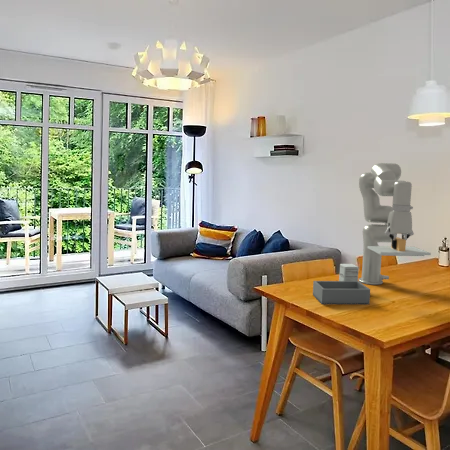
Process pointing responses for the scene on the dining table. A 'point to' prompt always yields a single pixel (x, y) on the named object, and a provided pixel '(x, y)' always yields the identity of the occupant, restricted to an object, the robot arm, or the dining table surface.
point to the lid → (398, 249)
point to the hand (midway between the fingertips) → (398, 248)
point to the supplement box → (348, 272)
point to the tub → (341, 292)
